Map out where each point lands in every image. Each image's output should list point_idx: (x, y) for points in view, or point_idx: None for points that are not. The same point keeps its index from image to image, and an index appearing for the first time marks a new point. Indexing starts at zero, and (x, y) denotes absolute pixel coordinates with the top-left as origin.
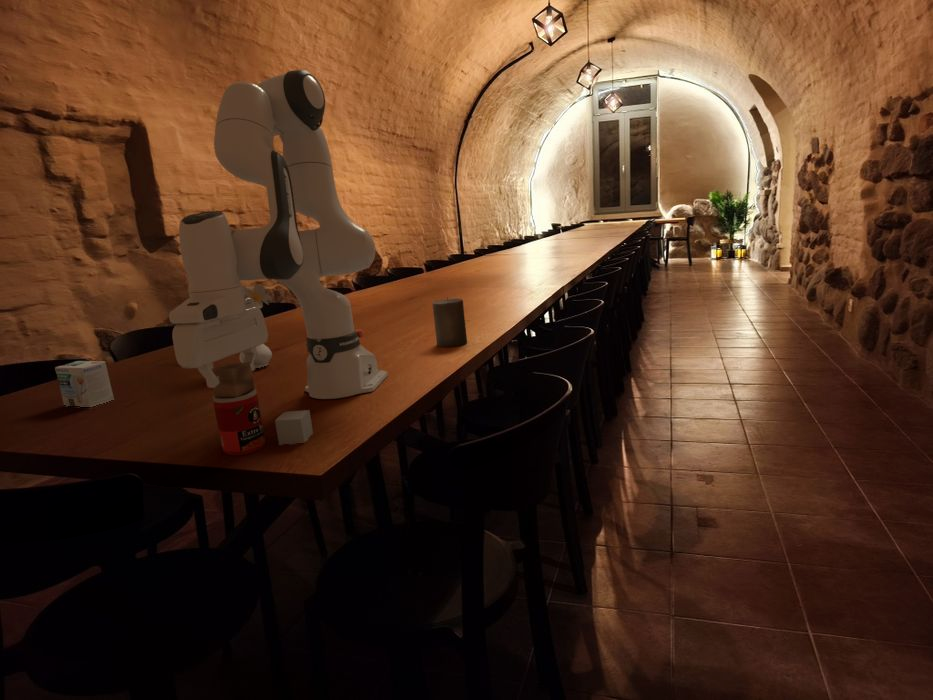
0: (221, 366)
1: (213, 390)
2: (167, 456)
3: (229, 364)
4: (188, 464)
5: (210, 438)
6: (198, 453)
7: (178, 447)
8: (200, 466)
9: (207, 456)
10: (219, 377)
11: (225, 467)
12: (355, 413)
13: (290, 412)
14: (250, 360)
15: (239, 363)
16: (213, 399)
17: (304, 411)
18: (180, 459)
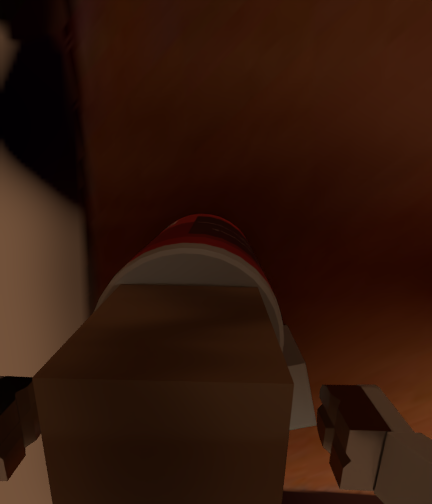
0: (172, 400)
1: (107, 299)
2: (120, 64)
3: (239, 431)
4: (89, 183)
5: (258, 102)
6: (153, 154)
7: (183, 41)
8: (87, 226)
9: (141, 198)
10: (13, 469)
11: (96, 292)
12: (428, 408)
13: (297, 384)
14: (394, 496)
15: (268, 495)
16: (108, 285)
17: (304, 418)
18: (110, 130)
